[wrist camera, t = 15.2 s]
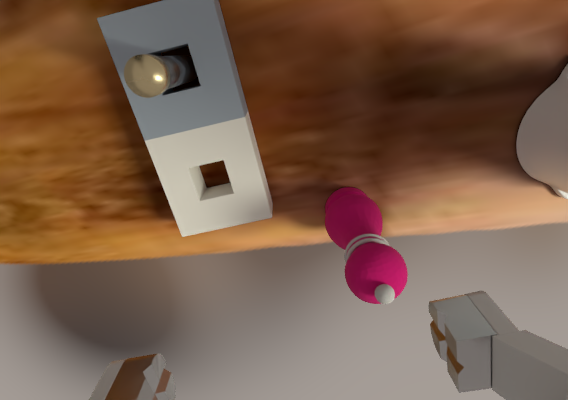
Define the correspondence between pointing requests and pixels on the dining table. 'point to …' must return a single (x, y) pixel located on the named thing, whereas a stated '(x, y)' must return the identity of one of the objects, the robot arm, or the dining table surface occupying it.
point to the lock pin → (157, 73)
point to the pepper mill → (364, 247)
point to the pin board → (194, 114)
